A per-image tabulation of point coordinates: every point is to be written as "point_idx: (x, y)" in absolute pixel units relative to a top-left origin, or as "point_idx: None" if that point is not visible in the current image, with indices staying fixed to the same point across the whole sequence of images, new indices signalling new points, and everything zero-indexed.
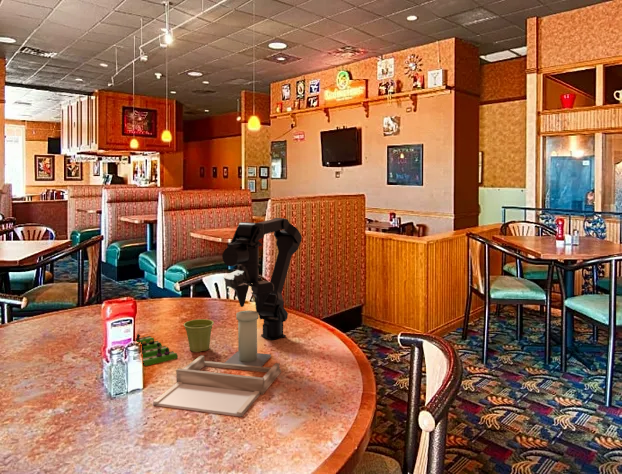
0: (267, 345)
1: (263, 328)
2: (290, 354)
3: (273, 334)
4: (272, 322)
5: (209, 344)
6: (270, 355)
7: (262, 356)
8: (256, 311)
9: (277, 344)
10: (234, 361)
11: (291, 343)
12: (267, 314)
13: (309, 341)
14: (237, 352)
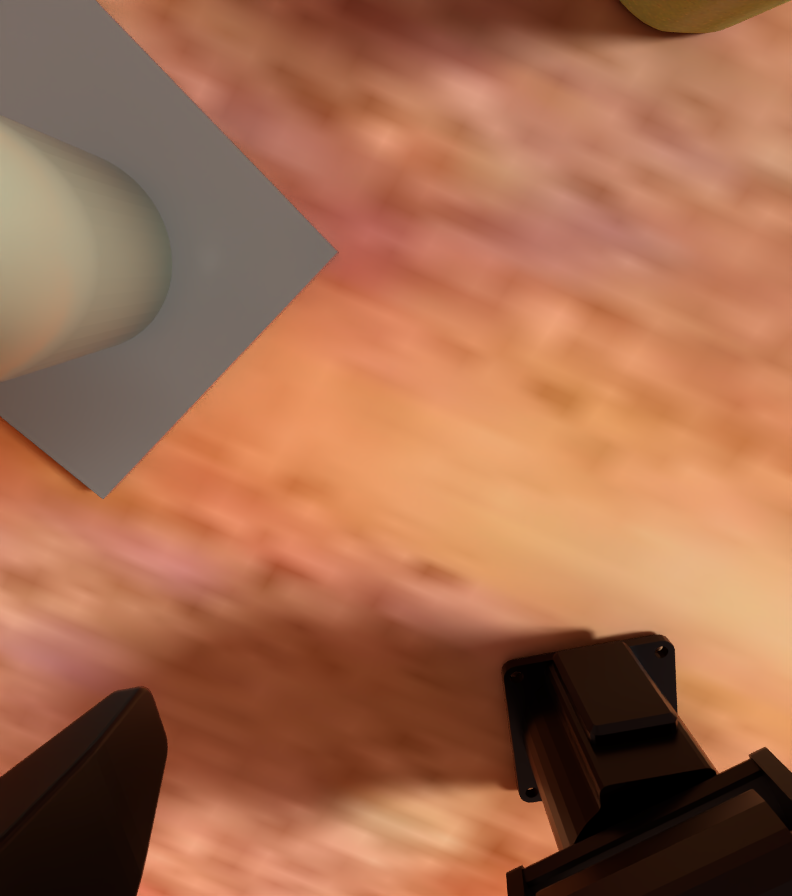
0: (410, 584)
1: (640, 690)
2: (104, 652)
3: (540, 718)
4: (586, 812)
5: (659, 8)
6: (97, 490)
7: (80, 409)
8: (126, 697)
9: (388, 663)
10: (48, 85)
11: (352, 762)
12: (627, 858)
13: (324, 883)
14: (300, 232)
